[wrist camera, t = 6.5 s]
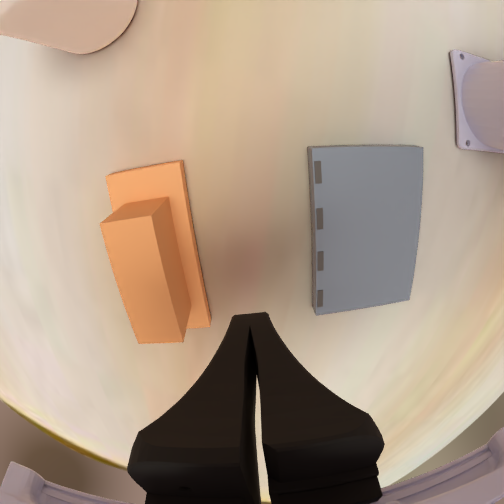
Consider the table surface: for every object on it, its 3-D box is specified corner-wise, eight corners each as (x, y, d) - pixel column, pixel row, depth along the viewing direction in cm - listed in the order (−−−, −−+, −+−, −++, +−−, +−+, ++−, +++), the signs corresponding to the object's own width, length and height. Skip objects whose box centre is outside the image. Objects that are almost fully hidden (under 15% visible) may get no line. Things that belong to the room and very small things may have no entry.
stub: (182, 160, 18) (163, 172, 14) (211, 318, 23) (205, 364, 18) (112, 173, 18) (76, 190, 14) (150, 322, 23) (134, 365, 19)
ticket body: (414, 145, 18) (424, 147, 17) (403, 292, 23) (409, 300, 22) (307, 146, 18) (312, 148, 17) (312, 306, 23) (316, 316, 22)
